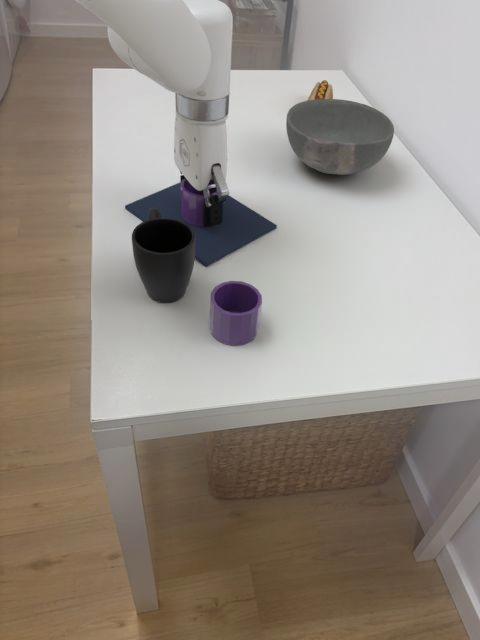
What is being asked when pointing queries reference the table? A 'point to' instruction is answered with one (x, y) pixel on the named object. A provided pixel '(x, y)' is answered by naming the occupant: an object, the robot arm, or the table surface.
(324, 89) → the food
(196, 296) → the table surface
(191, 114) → the robot arm
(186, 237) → the mug
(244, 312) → the ramekin
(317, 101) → the bowl
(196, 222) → the ramekin
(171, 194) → the placemat
